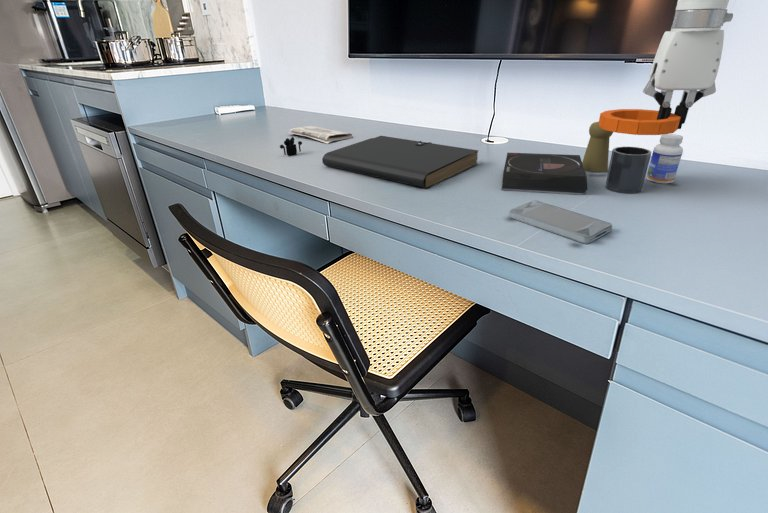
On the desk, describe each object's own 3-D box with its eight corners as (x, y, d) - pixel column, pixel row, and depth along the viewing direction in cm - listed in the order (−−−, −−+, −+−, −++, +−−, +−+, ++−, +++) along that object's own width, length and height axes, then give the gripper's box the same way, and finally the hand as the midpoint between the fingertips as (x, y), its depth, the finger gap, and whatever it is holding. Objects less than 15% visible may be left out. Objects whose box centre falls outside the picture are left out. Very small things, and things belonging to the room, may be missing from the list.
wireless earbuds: (282, 157, 127) (279, 140, 124) (278, 156, 129) (276, 138, 126) (304, 153, 130) (301, 136, 128) (300, 151, 132) (298, 135, 130)
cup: (636, 183, 95) (645, 146, 91) (646, 194, 89) (656, 155, 85) (601, 182, 97) (609, 146, 93) (609, 193, 91) (617, 155, 87)
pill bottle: (645, 175, 100) (656, 132, 95) (673, 177, 97) (685, 133, 93) (646, 182, 95) (657, 137, 91) (675, 185, 93) (688, 139, 88)
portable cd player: (586, 195, 90) (590, 176, 88) (501, 190, 95) (503, 172, 93) (579, 171, 104) (582, 155, 102) (505, 168, 109) (507, 152, 107)
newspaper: (286, 135, 154) (285, 127, 153) (315, 132, 162) (314, 125, 161) (324, 144, 139) (323, 136, 138) (353, 140, 146) (353, 133, 145)
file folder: (479, 148, 110) (423, 174, 95) (478, 164, 112) (423, 192, 97) (381, 134, 130) (321, 153, 114) (382, 147, 132) (323, 168, 116)
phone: (586, 245, 70) (587, 237, 70) (506, 216, 82) (507, 210, 81) (613, 230, 74) (614, 224, 74) (533, 205, 86) (534, 199, 85)
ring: (661, 120, 92) (664, 109, 90) (687, 135, 80) (691, 122, 79) (592, 120, 94) (594, 109, 93) (608, 134, 82) (610, 121, 81)
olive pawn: (594, 173, 102) (603, 125, 97) (575, 167, 107) (582, 121, 102) (613, 169, 104) (623, 122, 99) (593, 163, 109) (601, 118, 104)
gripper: (736, 20, 79) (705, 124, 88) (641, 23, 82) (620, 123, 91) (759, 20, 72) (722, 132, 81) (655, 23, 76) (630, 131, 84)
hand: (668, 126), depth 86 cm, fingers closed on ring, 2 cm apart
